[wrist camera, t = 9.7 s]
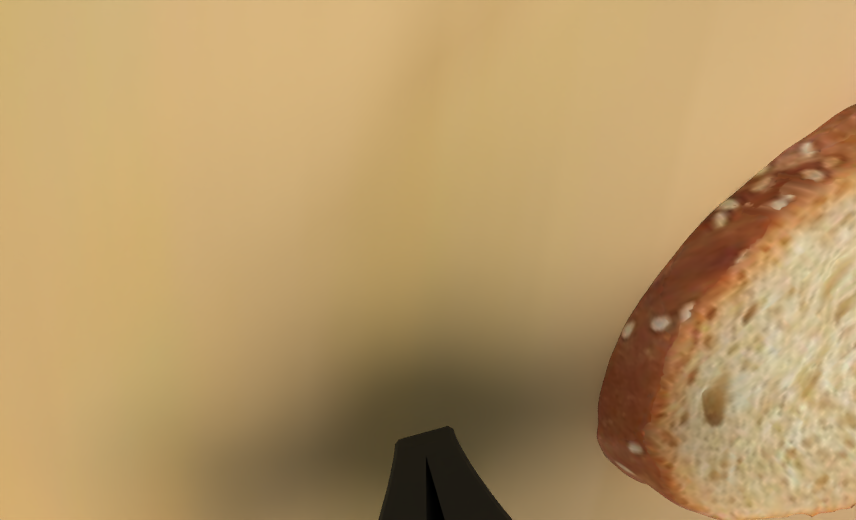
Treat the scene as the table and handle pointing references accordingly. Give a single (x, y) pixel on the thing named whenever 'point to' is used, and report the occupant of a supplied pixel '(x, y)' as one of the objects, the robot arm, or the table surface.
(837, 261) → the bread slice
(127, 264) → the table surface
